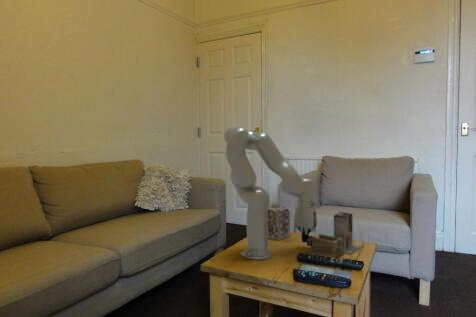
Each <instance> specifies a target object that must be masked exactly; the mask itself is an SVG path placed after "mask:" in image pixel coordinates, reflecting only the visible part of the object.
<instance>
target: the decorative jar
mask: <svg viewBox="0 0 476 317" xmlns="http://www.w3.org/2000/svg"><path fill="white" fill-rule="evenodd" d="M290 215H291V212H290V211H289V209H288V208H287V207H286V206H283V205H281V203H278V202H277V203H276V202H275V203H274V202H273V203H271V205H269V206H268V239H270V240H275V241H282V240H283V239H285V238H288V237H290V236H291V216H290Z"/></svg>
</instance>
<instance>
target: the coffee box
mask: <svg viewBox="0 0 476 317" xmlns="http://www.w3.org/2000/svg"><path fill="white" fill-rule="evenodd" d="M353 220H354V219H353V213H349V212H345V211H344V212H343V211H340V212H338V213H337V214H334V215H333V237H338V238H343V250H344V251H347V250H348V249H349V248H350V247H351V246H352V245H353V228H354V227H353V224H354V223H353Z"/></svg>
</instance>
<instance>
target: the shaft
mask: <svg viewBox="0 0 476 317" xmlns="http://www.w3.org/2000/svg"><path fill="white" fill-rule="evenodd" d="M314 237H315V236H314V235H309V236H308V238H307V242H306V246H307V247H310V248H311V247H313V238H314Z"/></svg>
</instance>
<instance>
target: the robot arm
mask: <svg viewBox="0 0 476 317" xmlns="http://www.w3.org/2000/svg"><path fill="white" fill-rule="evenodd" d="M223 135H224V136H223V137H224V141H225V142H226V147H225V148H226V149H225V156H226V159H227V162H228V165H229V167H230V169H231V171H230V180H231V183H232V184H233V188H235V191H236V192H237V194H238V196H239V198H240V199H241V201H243V203H244V204H246V205H247V211H246V247H245V250H243V251H241V252H240V255H241V257H245V258H247V259H249V260H256V261H257V260H259V261H260V260H266V259H269V258H271V256H272V252H271V251H270V249H269V242H268V241H269V238H268V206H270V204H269V203H270V196H269V193H268V192H267V190H266V189H265V188H262V187H260V186H258V185H256V182H257V179H258V178H257V174H256V172H255V170H254V168H253V167H252V164H251V162H250V161H249V159H248V158H249V157H248V156H247V154H246V150H252V151H256V152H257V153H258V154H259V156H260V158H261V159H262V160H263V162H264V164H265V165H266V167H267V168H268V169H269V170H270V171H272V173H274V174H276V175H277V176H278V177H279V178H281V179H282V181H281V182H280V190H282V192H283V193H285V194H288V195H291V196H293V197H297V205H296V207H295V211H294V228H295V229H297V230H298V231H299V233H300V234H301V243H307V238H308V236H310V235H309V234H310V233H311V232H312V233H313V232H315V231H317V230H316V228H317V226H318V218H317V217H318V216H317V210H316V206H317V203H316V202H315V201H314V199H315V196H314V194H315V192H314V191H315V180H314V179H312V178H310V177H301V175H300V174H299V172H298V171H297V169H295V167H293V165H292V164H290V162H289V161H288V160H287V159H286V158H285V157H284V156H283V154H282V153H281V151H280V150H279V149H278V148H279V147H278V146H277V145H276V144H275V142H274V141H273V139H272V138H271V136H270V135H269V134H268V133H266V132H261V131H260V132H256V131H255V132H254V131H249V130H248V129H246V128H245V127H242V126H236V127H235V126H234V127H229V128H228V129H227V130H225V133H224V134H223Z"/></svg>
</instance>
